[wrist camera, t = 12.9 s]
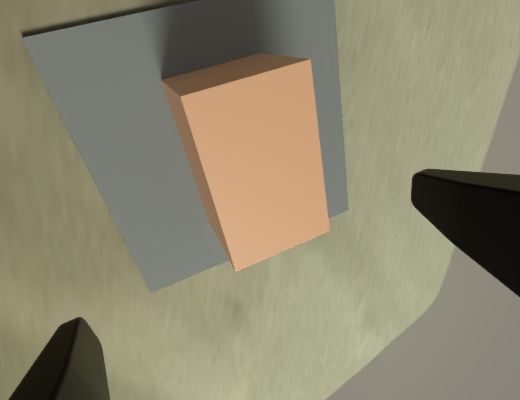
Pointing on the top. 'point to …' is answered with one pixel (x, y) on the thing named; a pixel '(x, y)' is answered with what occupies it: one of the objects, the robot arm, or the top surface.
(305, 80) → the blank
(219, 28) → the grey mat
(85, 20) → the top surface
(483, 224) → the robot arm
